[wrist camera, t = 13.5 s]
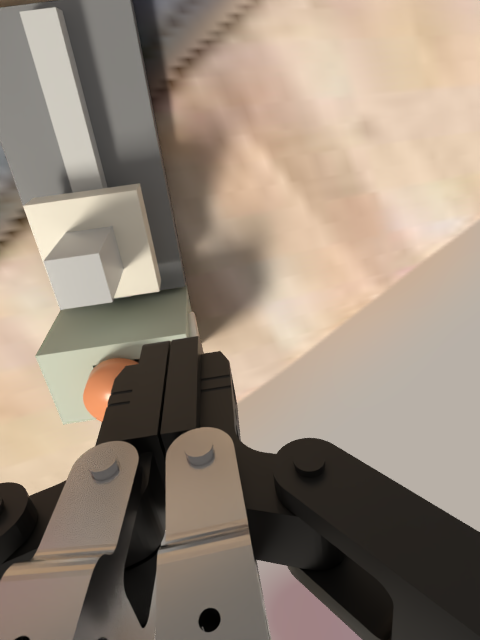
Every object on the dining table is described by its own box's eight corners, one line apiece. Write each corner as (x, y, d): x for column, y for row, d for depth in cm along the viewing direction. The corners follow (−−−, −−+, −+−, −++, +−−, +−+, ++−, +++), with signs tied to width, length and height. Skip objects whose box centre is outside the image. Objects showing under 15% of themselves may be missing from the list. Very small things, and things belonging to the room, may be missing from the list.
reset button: (151, 317, 34) (143, 367, 28) (163, 364, 36) (158, 419, 31) (94, 326, 34) (74, 377, 28) (108, 373, 36) (93, 429, 30)
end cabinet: (191, 283, 37) (191, 332, 30) (202, 345, 40) (205, 402, 33) (65, 302, 37) (35, 356, 30) (85, 362, 39) (63, 424, 32)
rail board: (131, -5, 27) (125, -13, 25) (185, 278, 37) (185, 294, 34) (-34, 16, 27) (-58, 10, 24) (63, 296, 36) (53, 314, 34)
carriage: (141, 178, 31) (126, 211, 23) (162, 272, 34) (154, 326, 27) (39, 192, 31) (-9, 230, 23) (70, 285, 34) (36, 344, 27)
